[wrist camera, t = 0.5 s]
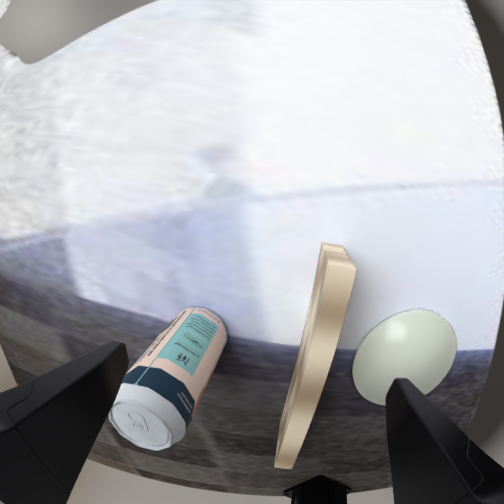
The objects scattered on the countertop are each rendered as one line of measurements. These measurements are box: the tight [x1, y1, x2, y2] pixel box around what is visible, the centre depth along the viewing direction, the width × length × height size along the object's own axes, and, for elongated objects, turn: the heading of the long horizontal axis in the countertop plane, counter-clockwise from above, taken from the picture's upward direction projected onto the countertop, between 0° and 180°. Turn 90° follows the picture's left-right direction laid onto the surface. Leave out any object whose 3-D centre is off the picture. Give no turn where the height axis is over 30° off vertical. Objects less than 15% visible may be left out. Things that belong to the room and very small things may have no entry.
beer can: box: [109, 307, 227, 451], centre depth 19 cm, size 5×5×12 cm
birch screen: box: [274, 242, 356, 469], centre depth 21 cm, size 18×2×6 cm, turn 173°
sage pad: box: [352, 309, 457, 406], centre depth 23 cm, size 10×10×1 cm
